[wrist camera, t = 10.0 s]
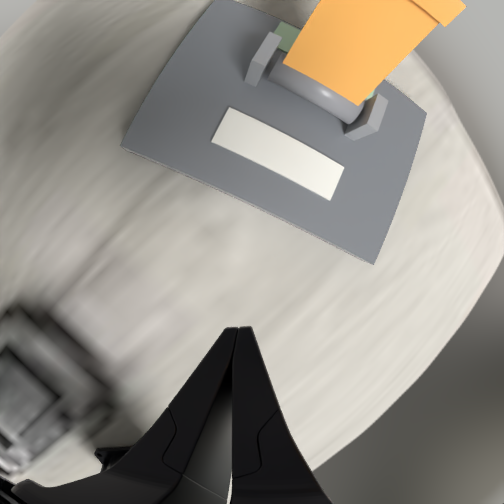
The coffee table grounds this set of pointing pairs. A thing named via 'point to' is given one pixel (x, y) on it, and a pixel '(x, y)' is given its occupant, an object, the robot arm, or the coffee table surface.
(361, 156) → the box
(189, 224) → the coffee table surface
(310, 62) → the breaker lever
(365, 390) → the coffee table surface
